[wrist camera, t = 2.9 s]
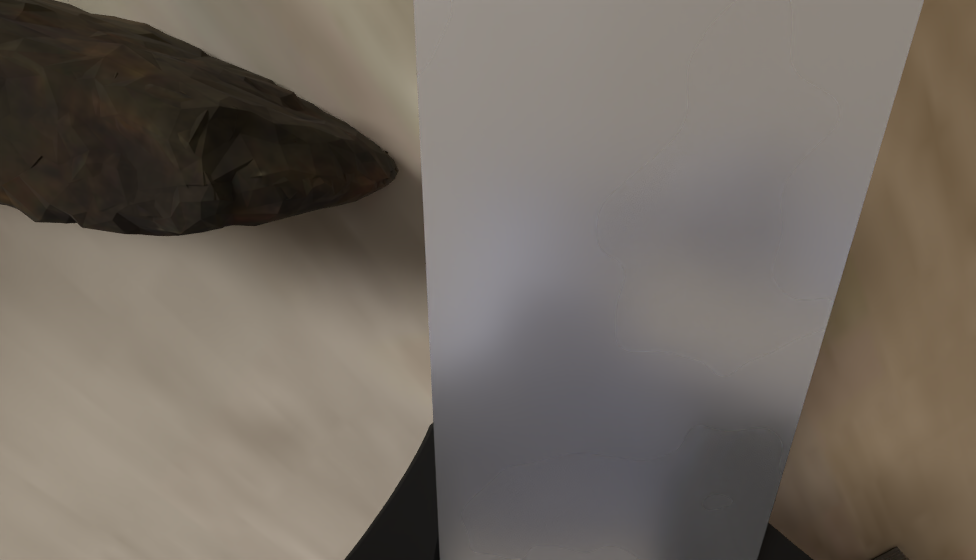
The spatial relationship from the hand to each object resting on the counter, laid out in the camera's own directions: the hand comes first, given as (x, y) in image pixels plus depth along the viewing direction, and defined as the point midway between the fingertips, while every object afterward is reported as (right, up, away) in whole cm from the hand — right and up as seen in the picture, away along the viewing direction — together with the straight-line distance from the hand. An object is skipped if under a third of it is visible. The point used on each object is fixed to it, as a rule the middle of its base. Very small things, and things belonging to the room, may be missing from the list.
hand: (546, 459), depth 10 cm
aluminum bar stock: (0, +1, +2) cm, 2 cm away
